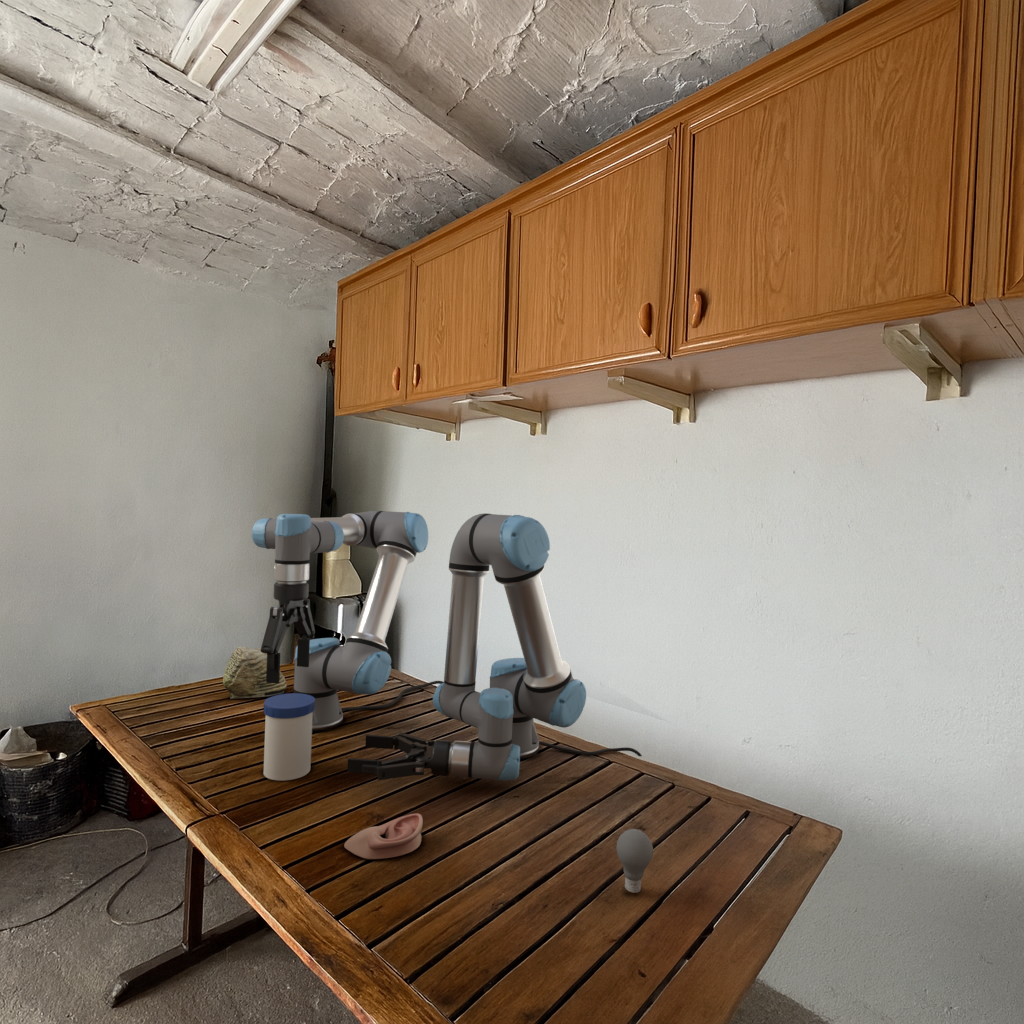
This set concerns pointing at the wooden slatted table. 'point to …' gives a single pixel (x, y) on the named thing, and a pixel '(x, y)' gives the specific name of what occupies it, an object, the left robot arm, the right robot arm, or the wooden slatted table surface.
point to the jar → (287, 747)
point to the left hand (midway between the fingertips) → (288, 674)
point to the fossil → (250, 675)
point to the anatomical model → (387, 838)
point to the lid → (289, 705)
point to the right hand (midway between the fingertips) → (357, 752)
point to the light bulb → (634, 857)
